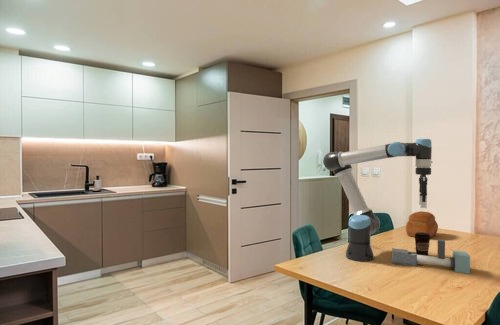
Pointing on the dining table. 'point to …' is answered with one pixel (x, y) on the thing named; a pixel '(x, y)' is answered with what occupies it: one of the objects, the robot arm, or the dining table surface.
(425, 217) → the bread
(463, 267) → the socket
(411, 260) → the sleeve
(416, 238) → the coffee cup
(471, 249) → the dining table surface
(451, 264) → the tube
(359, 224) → the robot arm
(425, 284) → the dining table surface
